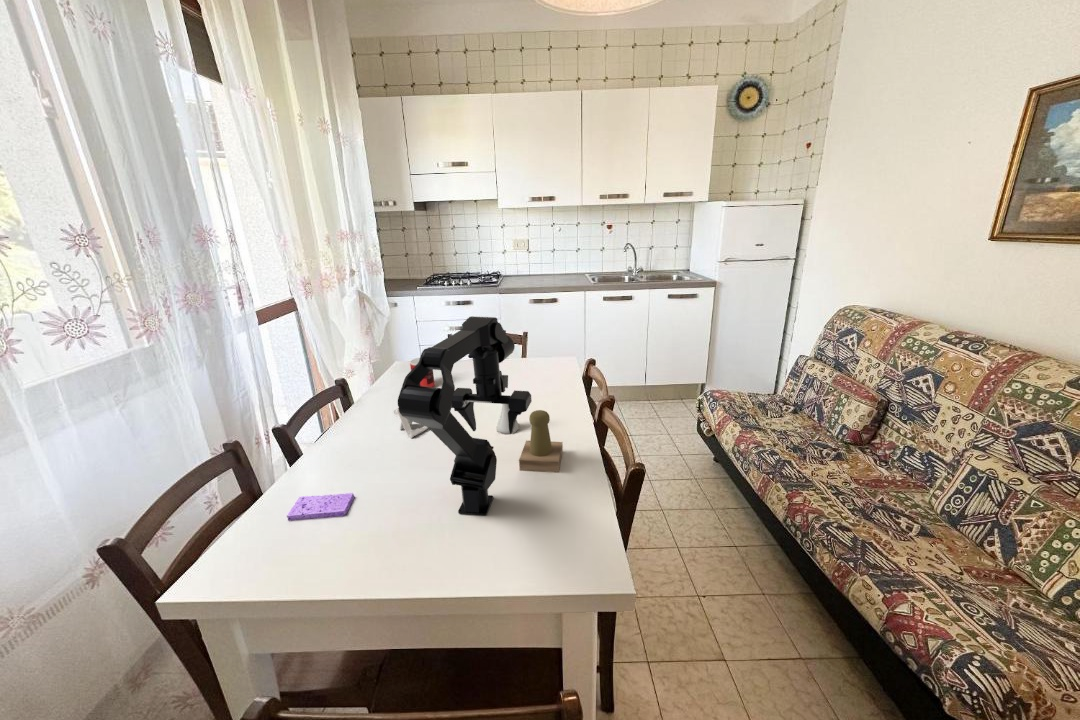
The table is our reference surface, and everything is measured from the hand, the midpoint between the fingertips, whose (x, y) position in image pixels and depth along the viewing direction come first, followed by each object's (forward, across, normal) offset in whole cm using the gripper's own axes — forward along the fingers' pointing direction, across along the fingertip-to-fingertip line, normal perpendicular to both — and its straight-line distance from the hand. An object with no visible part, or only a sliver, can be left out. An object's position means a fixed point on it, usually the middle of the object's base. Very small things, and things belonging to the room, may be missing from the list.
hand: (492, 431), depth 104 cm
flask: (+14, +5, -25) cm, 29 cm away
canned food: (+15, +47, -54) cm, 73 cm away
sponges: (+13, +36, +18) cm, 42 cm away
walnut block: (+13, -9, -9) cm, 19 cm away
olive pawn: (+10, -9, -10) cm, 17 cm away
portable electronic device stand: (+14, +34, -20) cm, 42 cm away
